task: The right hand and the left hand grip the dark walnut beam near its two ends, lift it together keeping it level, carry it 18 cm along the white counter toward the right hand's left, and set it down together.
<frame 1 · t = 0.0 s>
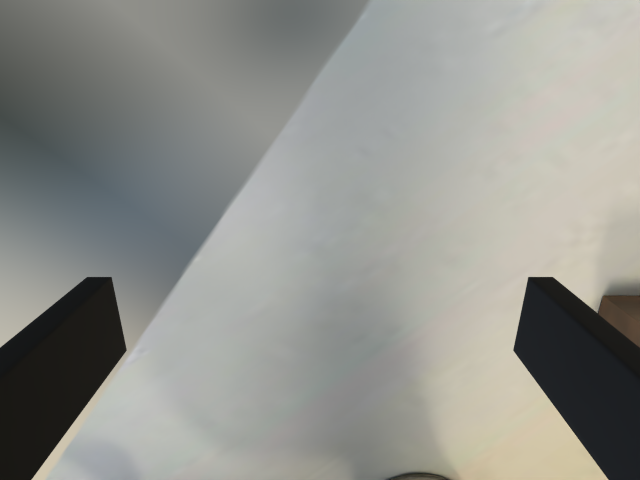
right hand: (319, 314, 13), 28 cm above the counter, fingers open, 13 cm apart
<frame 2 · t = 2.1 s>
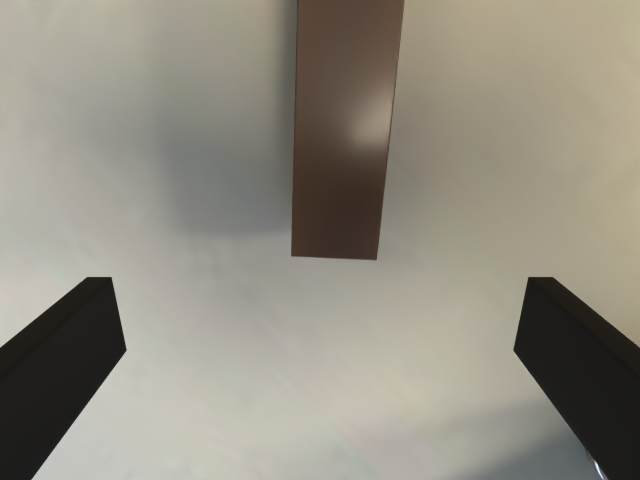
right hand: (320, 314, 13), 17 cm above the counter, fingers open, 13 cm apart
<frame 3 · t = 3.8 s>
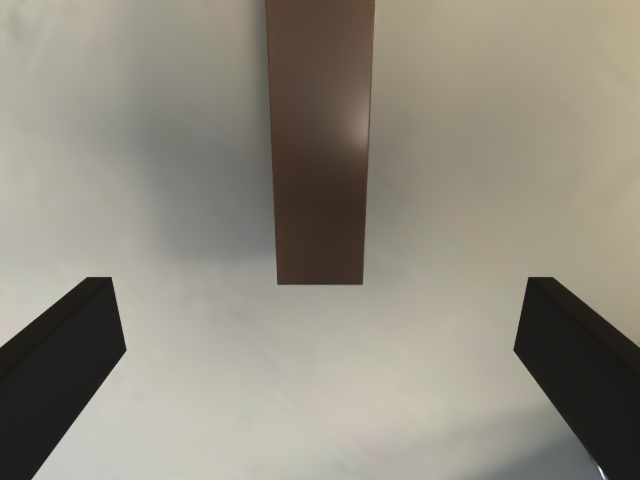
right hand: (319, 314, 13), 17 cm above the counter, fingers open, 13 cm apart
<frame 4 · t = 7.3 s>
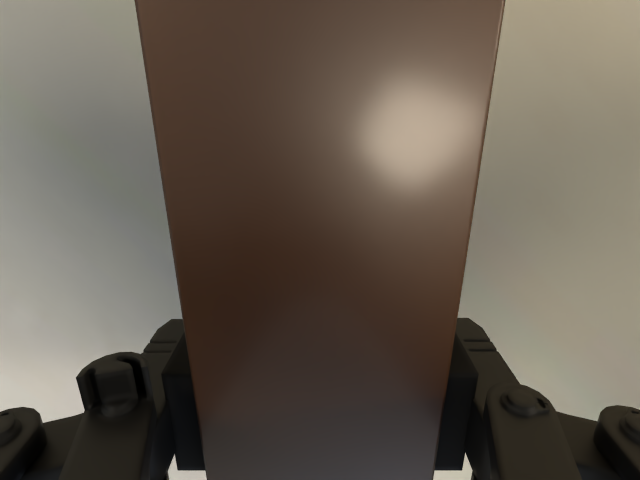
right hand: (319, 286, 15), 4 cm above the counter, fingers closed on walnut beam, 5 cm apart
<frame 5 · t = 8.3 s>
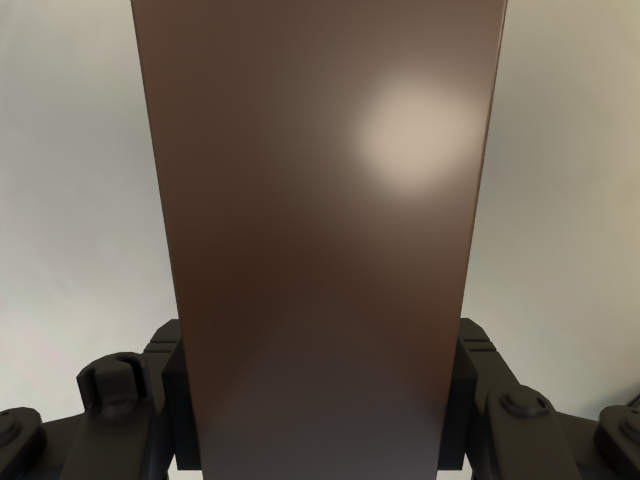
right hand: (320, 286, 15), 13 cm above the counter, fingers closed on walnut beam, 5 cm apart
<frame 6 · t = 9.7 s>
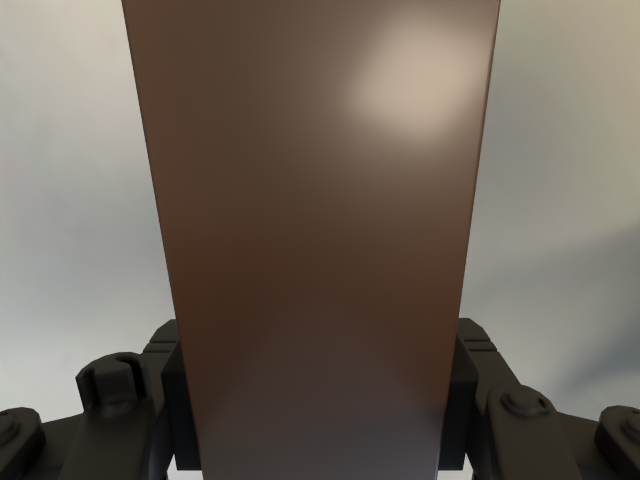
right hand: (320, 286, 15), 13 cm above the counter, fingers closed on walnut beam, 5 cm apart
when the right hand's fingers open (1 cm above the counter, at t = 12.6 s): walnut beam stays where it is, on the counter.
when the left hand's fingers open (3 cm above the counter, at t = 12.8 s): walnut beam stays where it is, on the counter.
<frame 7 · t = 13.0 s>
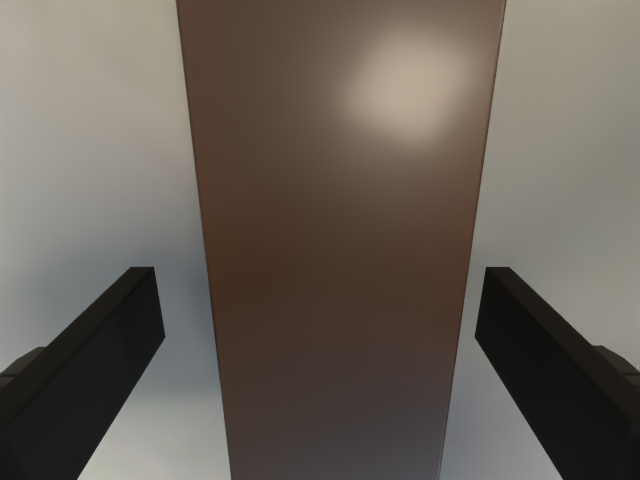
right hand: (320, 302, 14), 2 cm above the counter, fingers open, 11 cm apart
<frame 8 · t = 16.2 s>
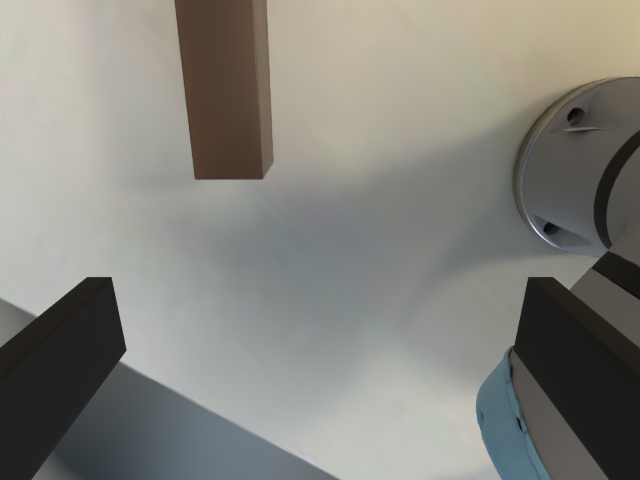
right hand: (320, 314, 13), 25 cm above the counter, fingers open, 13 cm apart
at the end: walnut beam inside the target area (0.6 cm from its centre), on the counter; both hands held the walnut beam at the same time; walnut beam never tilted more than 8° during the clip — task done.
